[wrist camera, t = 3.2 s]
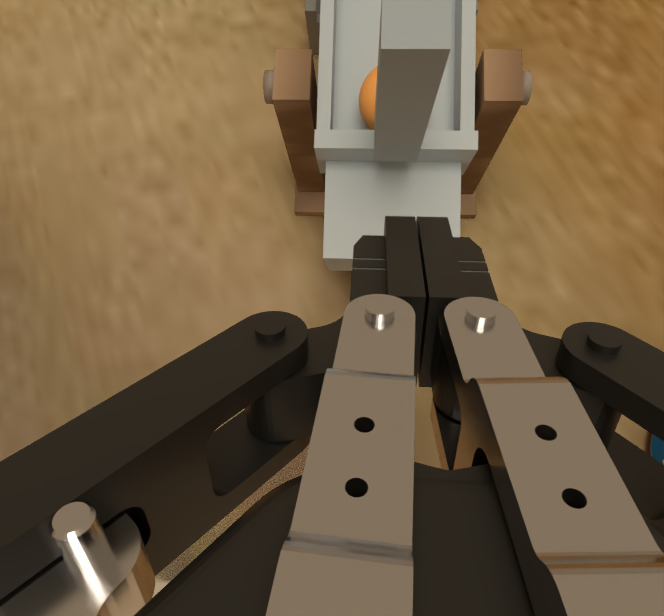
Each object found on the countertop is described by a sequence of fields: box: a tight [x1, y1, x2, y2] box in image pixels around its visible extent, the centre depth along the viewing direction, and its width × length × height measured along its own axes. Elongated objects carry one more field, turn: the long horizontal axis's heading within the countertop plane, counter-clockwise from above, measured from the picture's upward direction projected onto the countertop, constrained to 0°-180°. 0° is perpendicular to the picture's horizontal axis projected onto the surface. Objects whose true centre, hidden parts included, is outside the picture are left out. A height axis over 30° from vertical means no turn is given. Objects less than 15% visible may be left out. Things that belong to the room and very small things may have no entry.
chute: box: [314, 0, 478, 271], centre depth 22 cm, size 7×18×14 cm, turn 178°
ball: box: [359, 66, 378, 130], centre depth 24 cm, size 3×3×3 cm
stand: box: [263, 49, 532, 218], centre depth 29 cm, size 12×5×11 cm, turn 88°
